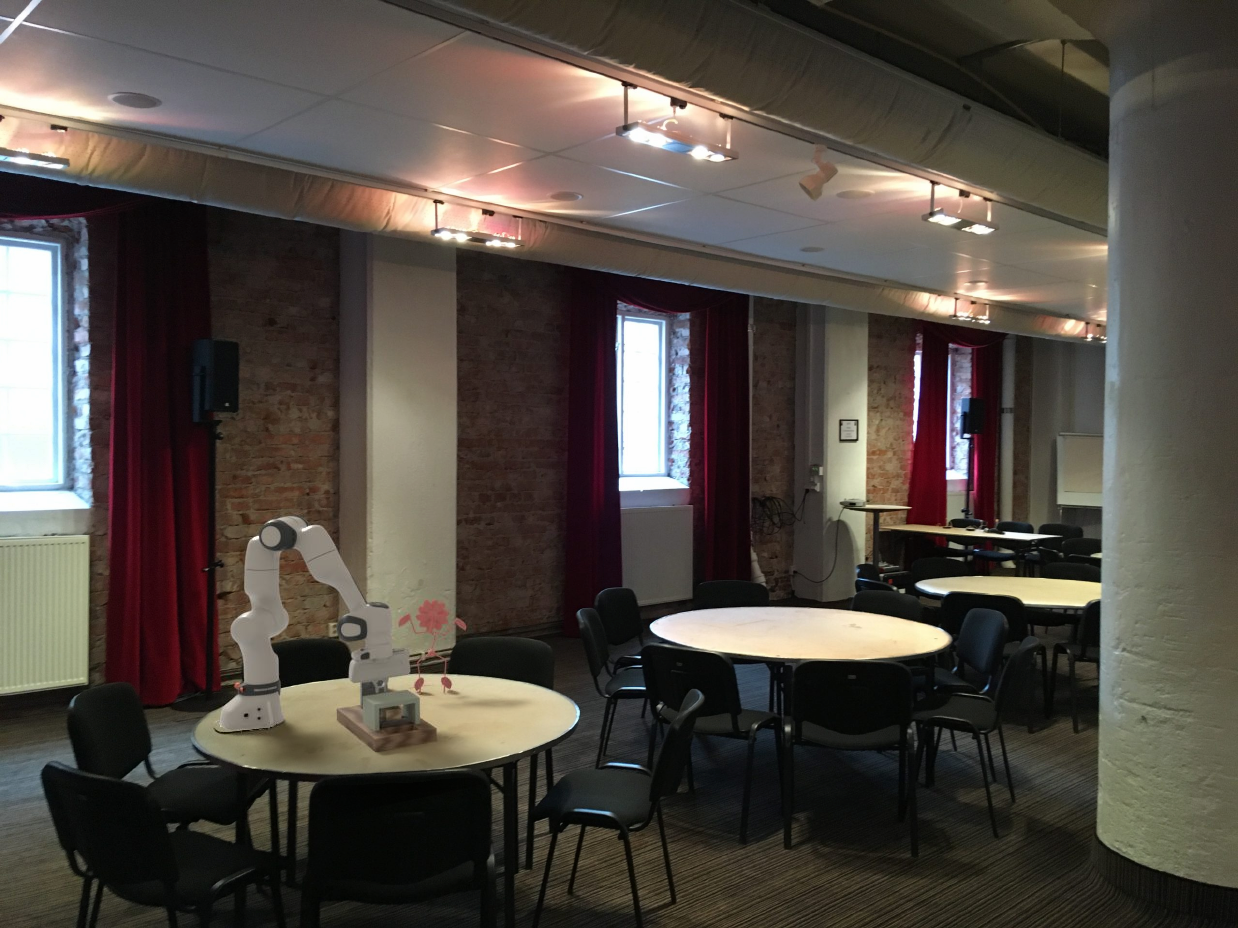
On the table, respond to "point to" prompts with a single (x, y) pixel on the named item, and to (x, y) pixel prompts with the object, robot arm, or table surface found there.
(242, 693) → the robot arm
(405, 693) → the tunnel
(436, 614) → the pink flower toy
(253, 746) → the table surface
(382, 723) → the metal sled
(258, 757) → the table surface
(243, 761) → the table surface
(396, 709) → the maple block
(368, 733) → the walnut deck
